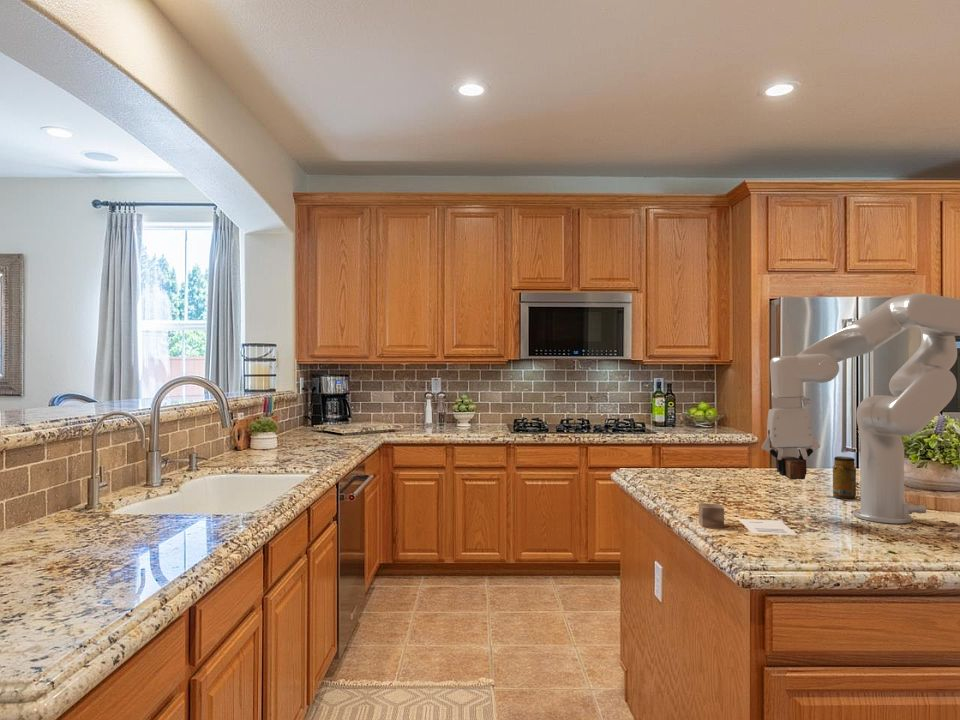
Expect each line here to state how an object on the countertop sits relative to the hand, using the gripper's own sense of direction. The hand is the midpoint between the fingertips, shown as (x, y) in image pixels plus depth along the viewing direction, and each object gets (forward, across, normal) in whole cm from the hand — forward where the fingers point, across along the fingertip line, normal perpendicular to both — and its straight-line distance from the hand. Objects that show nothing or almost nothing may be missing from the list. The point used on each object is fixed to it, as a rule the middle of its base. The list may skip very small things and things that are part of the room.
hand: (791, 473), depth 163 cm
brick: (+1, 0, 0) cm, 1 cm away
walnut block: (+10, +23, +12) cm, 28 cm away
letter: (+11, +10, +11) cm, 18 cm away
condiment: (+13, -23, -30) cm, 40 cm away
